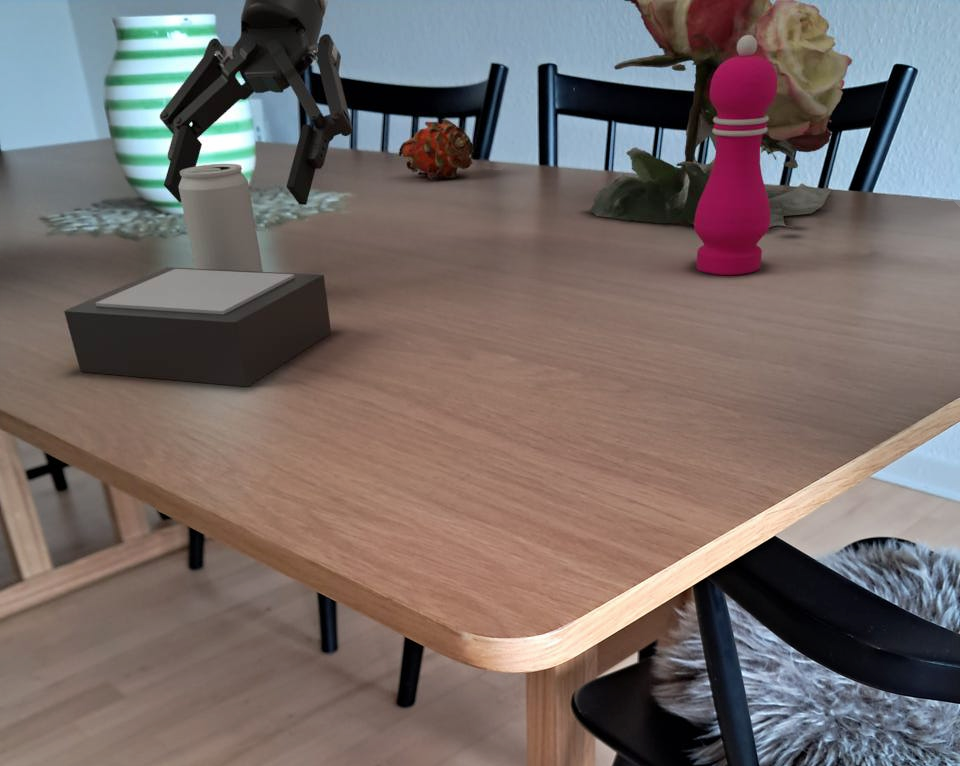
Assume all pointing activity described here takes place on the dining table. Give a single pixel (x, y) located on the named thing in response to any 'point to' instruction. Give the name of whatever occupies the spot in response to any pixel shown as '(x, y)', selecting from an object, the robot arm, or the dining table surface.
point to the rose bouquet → (709, 42)
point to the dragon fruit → (438, 150)
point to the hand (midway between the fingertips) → (234, 195)
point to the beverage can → (219, 218)
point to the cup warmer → (200, 325)
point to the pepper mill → (736, 166)
